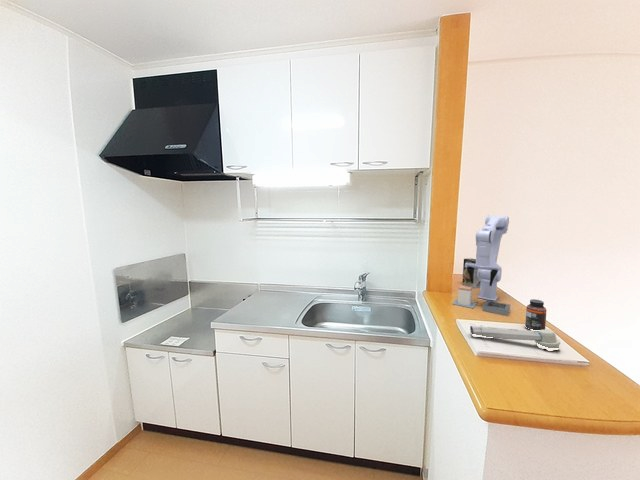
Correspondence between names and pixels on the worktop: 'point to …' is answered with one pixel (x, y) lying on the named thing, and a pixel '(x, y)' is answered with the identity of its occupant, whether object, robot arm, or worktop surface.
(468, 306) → the rubber mat
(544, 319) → the supplement bottle
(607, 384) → the worktop surface
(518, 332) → the angled head flashlight
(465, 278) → the coffee box
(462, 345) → the worktop surface
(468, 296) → the beige pink box
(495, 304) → the frame
